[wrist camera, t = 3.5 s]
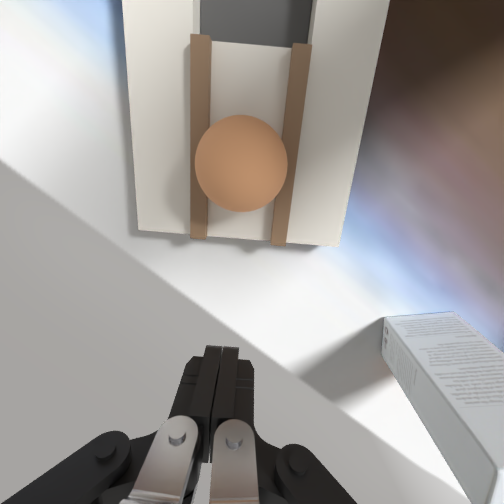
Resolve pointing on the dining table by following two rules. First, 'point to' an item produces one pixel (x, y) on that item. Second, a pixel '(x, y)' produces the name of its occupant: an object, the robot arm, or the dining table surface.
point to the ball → (241, 163)
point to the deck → (250, 106)
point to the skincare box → (453, 394)
